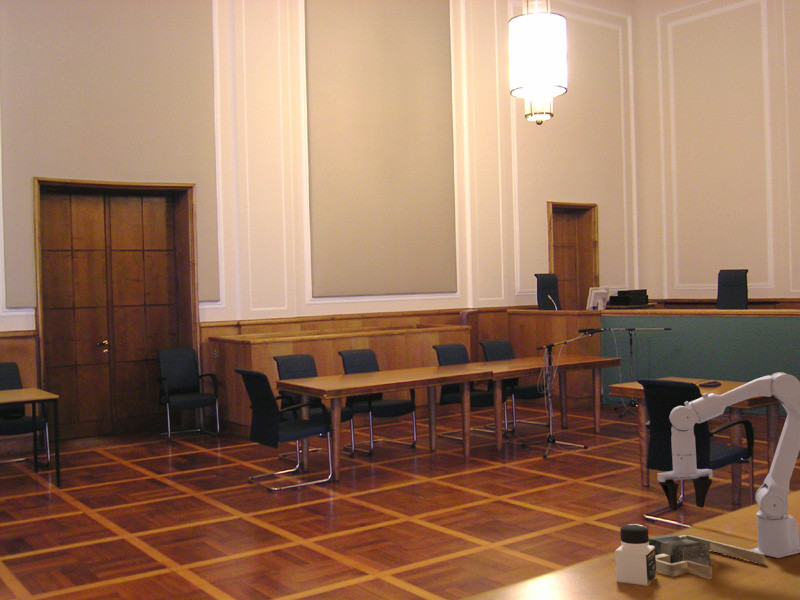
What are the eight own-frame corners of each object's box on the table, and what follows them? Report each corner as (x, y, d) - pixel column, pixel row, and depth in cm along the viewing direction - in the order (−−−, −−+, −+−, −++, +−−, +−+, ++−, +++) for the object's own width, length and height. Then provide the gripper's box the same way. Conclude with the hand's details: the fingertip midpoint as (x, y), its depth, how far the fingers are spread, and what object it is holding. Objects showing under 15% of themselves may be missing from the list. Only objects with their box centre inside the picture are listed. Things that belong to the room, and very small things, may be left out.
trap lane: (687, 544, 212) (687, 534, 212) (765, 564, 192) (764, 553, 192) (618, 559, 200) (617, 549, 200) (693, 583, 180) (692, 571, 180)
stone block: (675, 552, 206) (675, 531, 206) (715, 567, 193) (714, 544, 193) (645, 556, 203) (644, 535, 203) (683, 571, 190) (682, 548, 190)
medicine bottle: (648, 586, 179) (645, 531, 180) (616, 582, 183) (613, 528, 183) (656, 577, 185) (654, 523, 186) (625, 573, 189) (623, 521, 189)
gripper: (667, 458, 202) (670, 514, 201) (718, 454, 205) (721, 508, 205) (651, 454, 208) (654, 508, 208) (702, 450, 212) (704, 503, 211)
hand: (686, 508), depth 207 cm, fingers open, 7 cm apart
